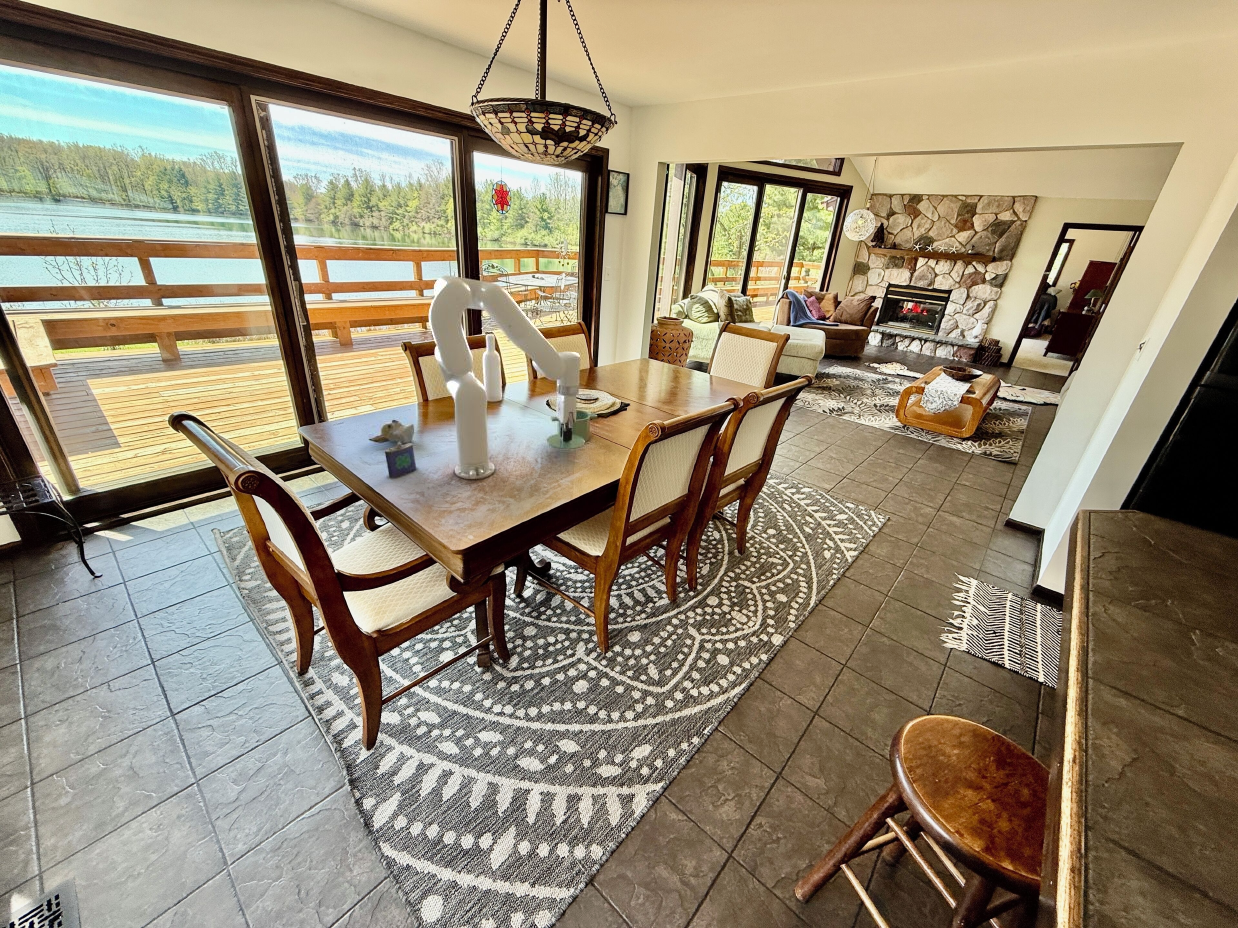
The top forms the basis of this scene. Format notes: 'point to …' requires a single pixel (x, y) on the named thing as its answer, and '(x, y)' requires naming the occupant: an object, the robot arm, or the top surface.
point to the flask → (400, 460)
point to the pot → (579, 424)
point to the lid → (560, 444)
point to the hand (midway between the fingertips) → (565, 438)
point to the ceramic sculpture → (395, 433)
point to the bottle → (492, 371)
